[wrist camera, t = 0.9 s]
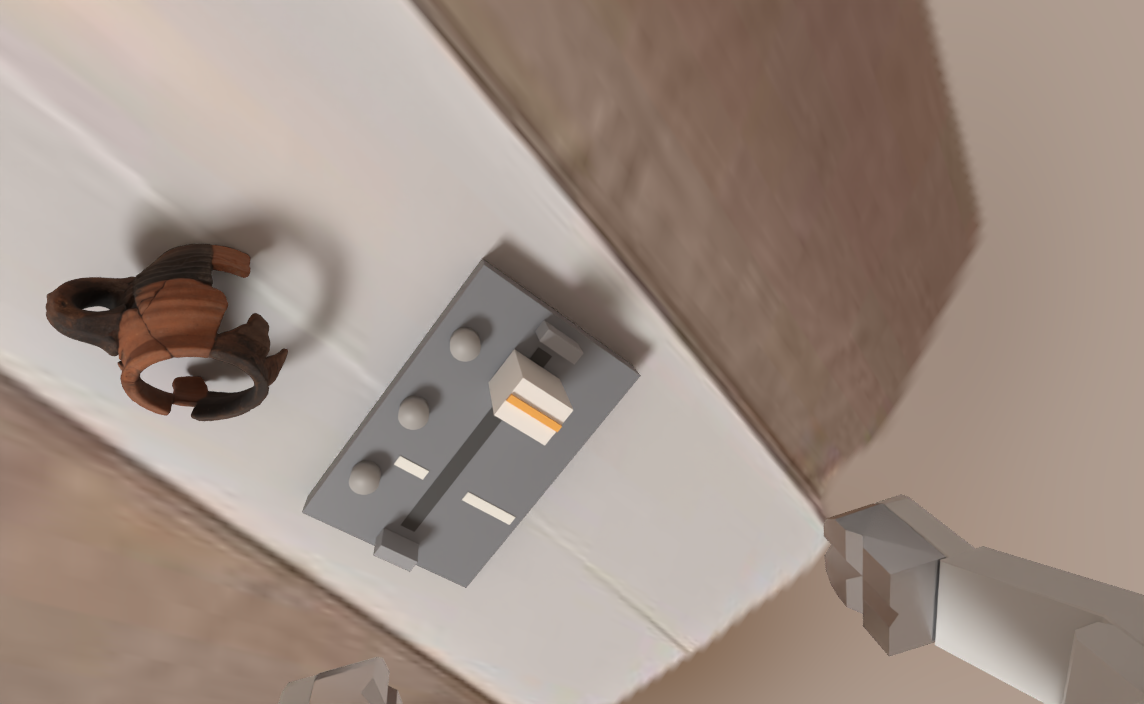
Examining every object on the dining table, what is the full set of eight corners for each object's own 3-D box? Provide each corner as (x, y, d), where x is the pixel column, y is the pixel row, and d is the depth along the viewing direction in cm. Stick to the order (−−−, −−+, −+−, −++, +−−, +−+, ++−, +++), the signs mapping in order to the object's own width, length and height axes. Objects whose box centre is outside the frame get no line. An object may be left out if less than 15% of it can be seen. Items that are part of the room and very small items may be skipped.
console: (482, 258, 40) (486, 271, 37) (632, 365, 46) (649, 386, 42) (307, 496, 44) (295, 530, 40) (465, 570, 49) (466, 606, 46)
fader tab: (514, 349, 41) (523, 379, 36) (559, 379, 42) (574, 411, 37) (488, 382, 41) (494, 416, 36) (534, 411, 43) (545, 447, 38)
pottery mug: (303, 252, 39) (297, 350, 34) (276, 344, 44) (267, 438, 40) (65, 199, 32) (15, 310, 27) (69, 314, 38) (29, 422, 33)
